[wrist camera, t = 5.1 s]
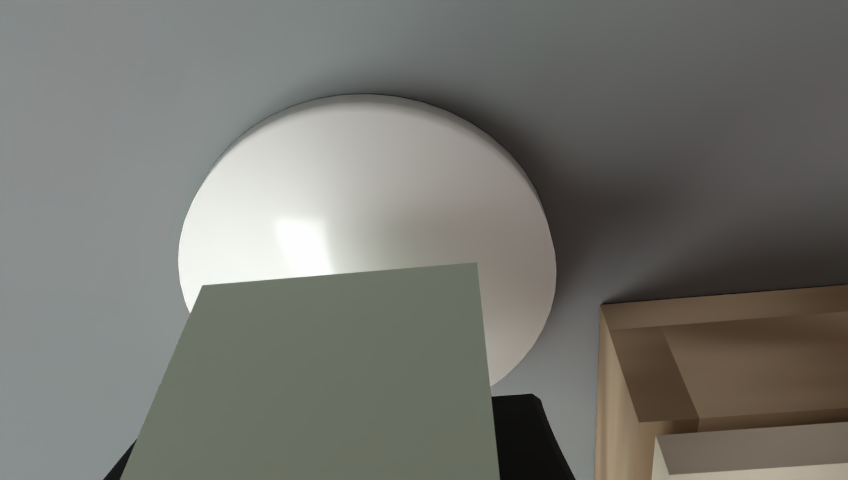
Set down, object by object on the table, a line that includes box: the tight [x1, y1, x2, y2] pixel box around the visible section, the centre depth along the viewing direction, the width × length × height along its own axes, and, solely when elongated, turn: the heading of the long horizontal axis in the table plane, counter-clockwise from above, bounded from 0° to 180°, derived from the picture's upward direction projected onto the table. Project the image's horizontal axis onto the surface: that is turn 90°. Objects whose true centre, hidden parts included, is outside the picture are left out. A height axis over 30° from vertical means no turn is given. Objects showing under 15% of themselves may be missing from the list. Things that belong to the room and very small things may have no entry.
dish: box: [178, 94, 557, 387], centre depth 14 cm, size 7×7×1 cm
